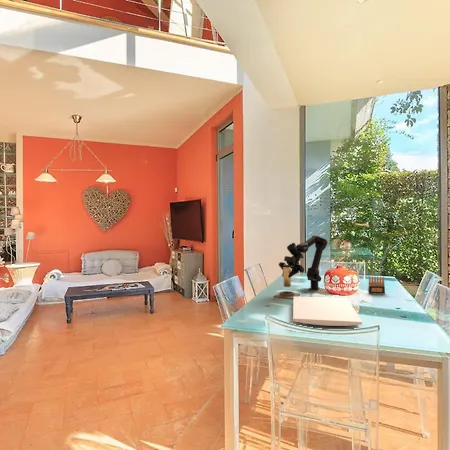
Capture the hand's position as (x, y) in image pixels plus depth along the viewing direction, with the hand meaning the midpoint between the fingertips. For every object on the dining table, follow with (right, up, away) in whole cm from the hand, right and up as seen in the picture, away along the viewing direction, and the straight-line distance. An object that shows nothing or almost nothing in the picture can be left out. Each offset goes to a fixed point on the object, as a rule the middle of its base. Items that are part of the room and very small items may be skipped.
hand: (285, 276), depth 222 cm
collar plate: (+1, -13, +1) cm, 13 cm away
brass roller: (+1, -7, +1) cm, 7 cm away
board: (+13, -15, -42) cm, 47 cm away
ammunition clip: (+65, -13, +5) cm, 66 cm away
